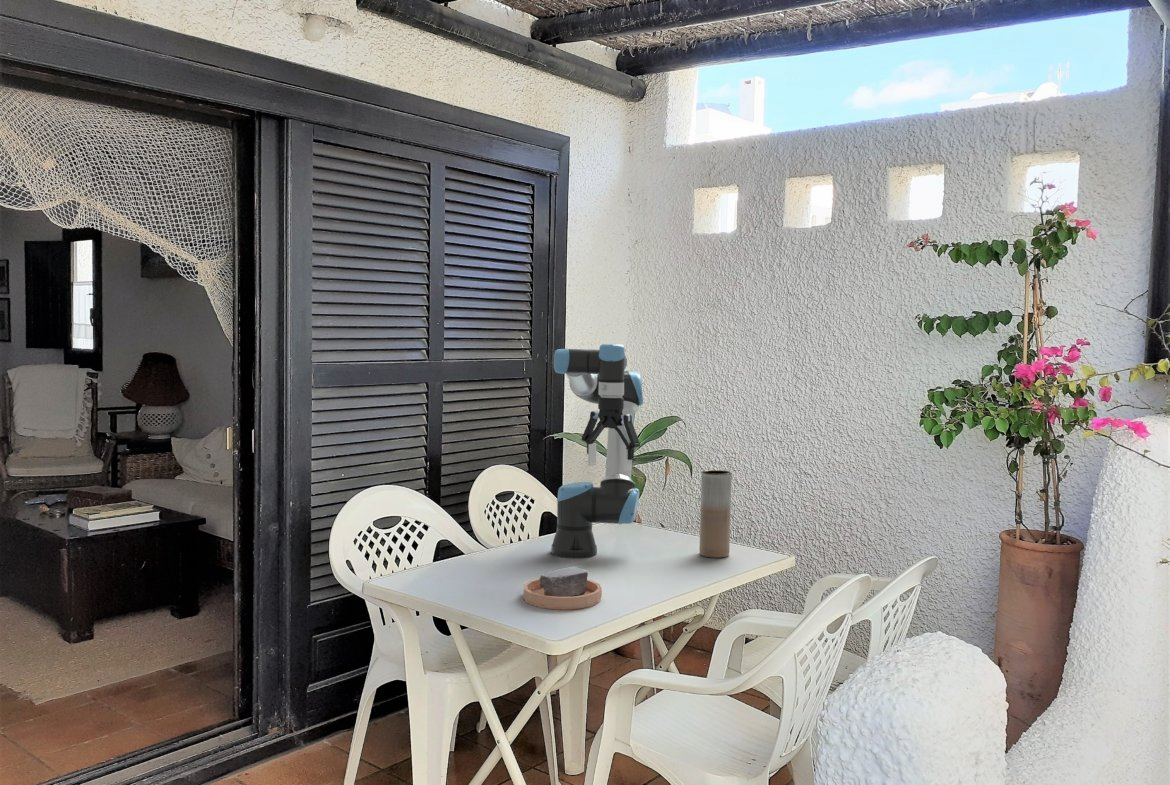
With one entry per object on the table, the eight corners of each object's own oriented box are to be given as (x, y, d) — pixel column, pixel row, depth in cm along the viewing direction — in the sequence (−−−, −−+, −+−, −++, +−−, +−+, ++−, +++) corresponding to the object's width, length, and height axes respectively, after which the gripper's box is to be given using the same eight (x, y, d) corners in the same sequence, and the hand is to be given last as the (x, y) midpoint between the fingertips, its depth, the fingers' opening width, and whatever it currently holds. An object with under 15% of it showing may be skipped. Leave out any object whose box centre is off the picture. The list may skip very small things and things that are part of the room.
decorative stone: (593, 592, 246) (562, 585, 250) (594, 567, 245) (563, 561, 250) (567, 606, 233) (535, 599, 237) (569, 580, 232) (536, 573, 237)
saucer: (507, 598, 240) (507, 587, 240) (558, 583, 256) (558, 572, 256) (566, 615, 227) (566, 602, 226) (616, 597, 243) (616, 586, 243)
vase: (734, 557, 292) (736, 473, 290) (705, 558, 289) (708, 474, 288) (722, 550, 301) (724, 469, 300) (694, 551, 299) (697, 470, 297)
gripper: (570, 394, 266) (569, 464, 268) (637, 400, 250) (635, 474, 251) (587, 393, 272) (585, 461, 273) (652, 398, 256) (651, 471, 257)
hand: (609, 468), depth 262 cm, fingers open, 13 cm apart
